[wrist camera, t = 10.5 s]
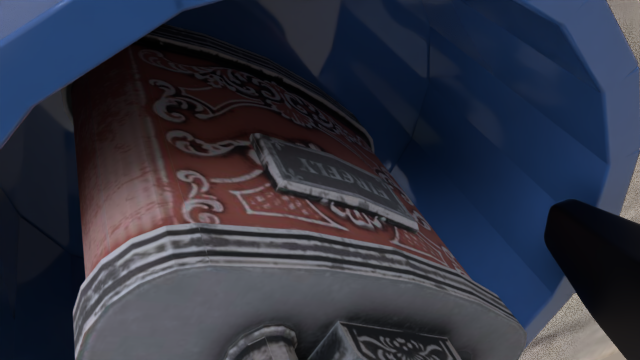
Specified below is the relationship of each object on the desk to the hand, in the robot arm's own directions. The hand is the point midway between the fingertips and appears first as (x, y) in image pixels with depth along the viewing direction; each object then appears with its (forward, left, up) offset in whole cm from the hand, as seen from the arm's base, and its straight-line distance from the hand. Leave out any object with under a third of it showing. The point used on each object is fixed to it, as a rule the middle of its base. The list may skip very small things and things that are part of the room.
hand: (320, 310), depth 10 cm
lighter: (0, 0, -7) cm, 7 cm away
